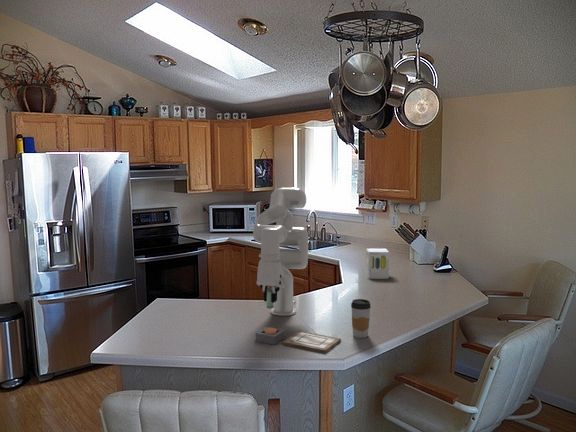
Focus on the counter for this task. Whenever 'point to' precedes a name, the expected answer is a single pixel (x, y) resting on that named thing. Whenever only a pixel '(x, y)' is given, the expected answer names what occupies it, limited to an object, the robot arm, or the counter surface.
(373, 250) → the supplement box
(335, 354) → the counter surface
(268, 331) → the button
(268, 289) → the sage green marker
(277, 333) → the button housing
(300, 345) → the drawing board
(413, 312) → the counter surface
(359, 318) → the coffee cup
